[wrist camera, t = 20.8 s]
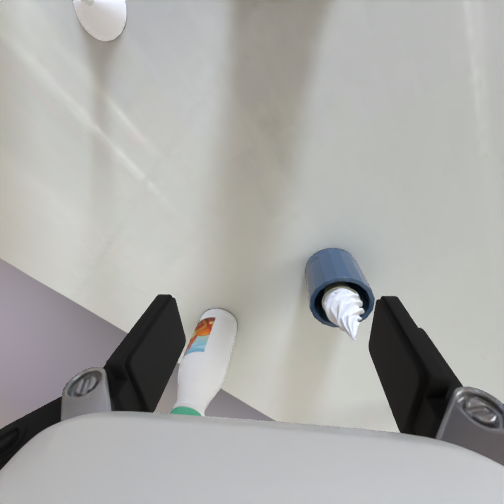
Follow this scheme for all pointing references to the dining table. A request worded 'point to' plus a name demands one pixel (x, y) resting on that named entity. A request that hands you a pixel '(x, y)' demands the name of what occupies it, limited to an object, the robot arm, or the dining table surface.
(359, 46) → the dining table surface
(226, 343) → the milk bottle
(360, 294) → the tumbler
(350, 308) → the ice cream cone
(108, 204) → the dining table surface
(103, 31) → the champagne flute
